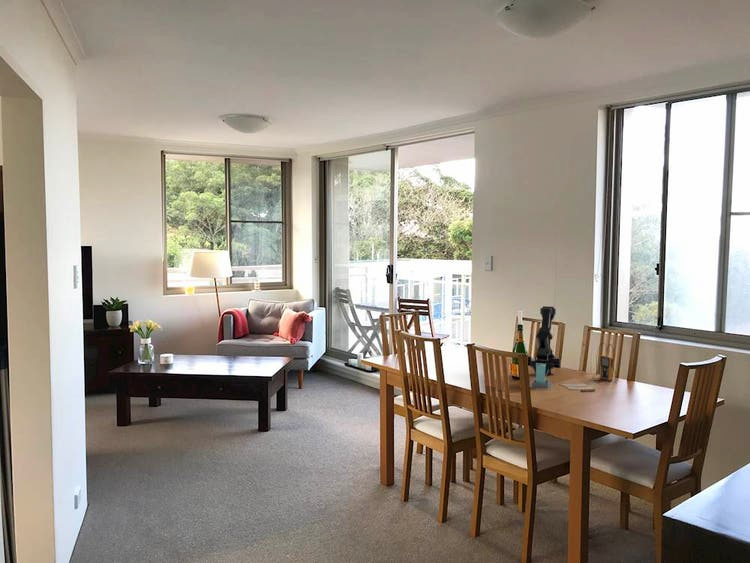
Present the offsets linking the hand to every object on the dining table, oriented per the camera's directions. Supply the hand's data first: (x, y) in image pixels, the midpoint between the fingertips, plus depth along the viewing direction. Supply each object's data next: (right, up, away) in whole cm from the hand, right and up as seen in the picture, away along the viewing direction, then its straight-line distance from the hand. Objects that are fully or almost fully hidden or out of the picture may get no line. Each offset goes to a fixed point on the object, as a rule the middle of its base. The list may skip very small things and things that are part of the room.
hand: (540, 375), depth 305 cm
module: (+1, -5, +2) cm, 6 cm away
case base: (+1, -6, +2) cm, 7 cm away
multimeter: (+39, -6, +19) cm, 43 cm away
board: (+19, -7, -1) cm, 20 cm away
